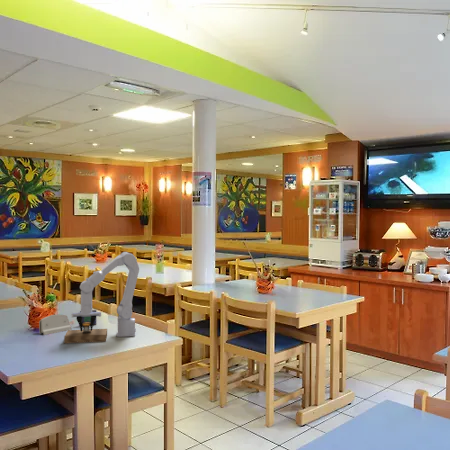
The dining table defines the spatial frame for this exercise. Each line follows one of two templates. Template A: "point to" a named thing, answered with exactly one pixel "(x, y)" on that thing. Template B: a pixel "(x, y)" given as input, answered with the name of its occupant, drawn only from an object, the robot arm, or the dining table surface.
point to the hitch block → (85, 336)
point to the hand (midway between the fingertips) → (86, 330)
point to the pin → (86, 327)
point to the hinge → (54, 324)
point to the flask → (88, 319)
